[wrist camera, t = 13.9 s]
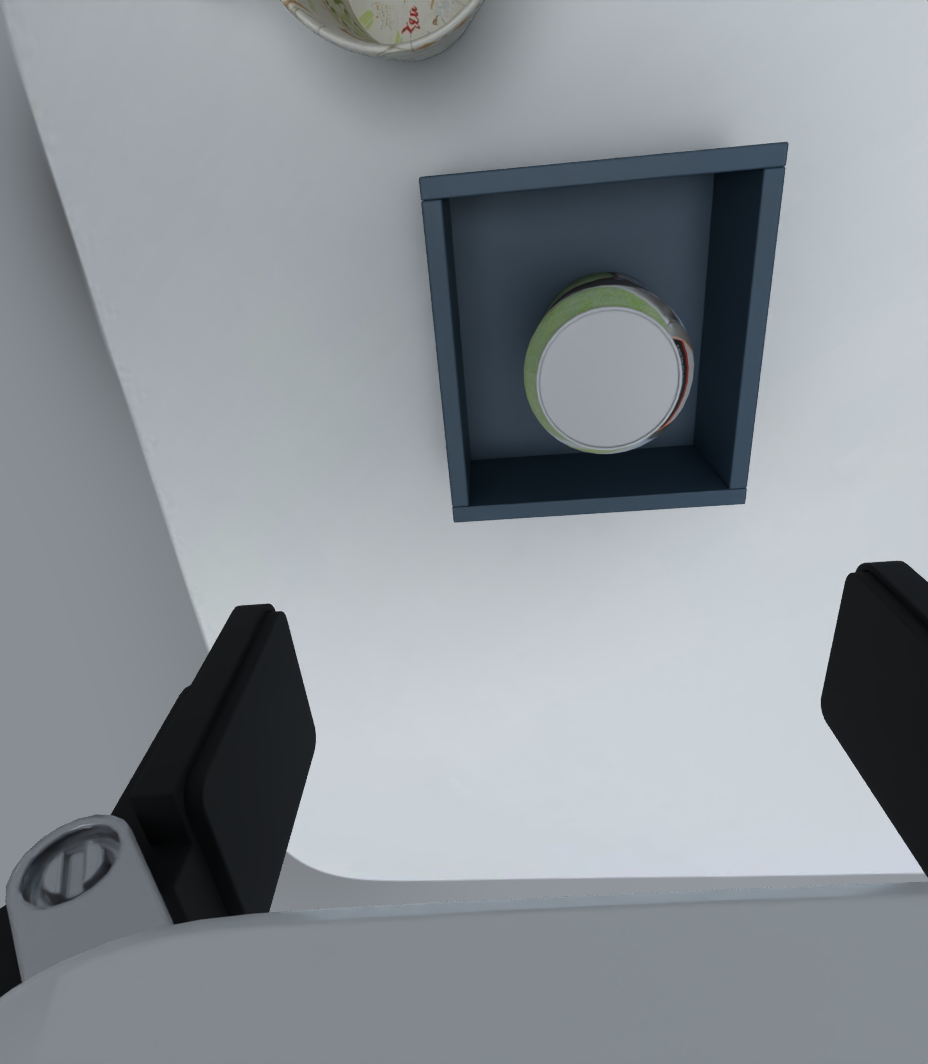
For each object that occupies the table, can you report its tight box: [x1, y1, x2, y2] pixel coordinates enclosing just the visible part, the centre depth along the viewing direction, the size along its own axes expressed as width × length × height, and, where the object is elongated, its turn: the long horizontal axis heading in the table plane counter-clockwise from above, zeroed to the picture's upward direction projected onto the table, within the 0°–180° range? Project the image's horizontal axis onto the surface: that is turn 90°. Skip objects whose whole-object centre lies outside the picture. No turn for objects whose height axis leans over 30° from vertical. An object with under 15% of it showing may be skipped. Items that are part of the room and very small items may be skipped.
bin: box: [419, 142, 788, 522], centre depth 31 cm, size 15×14×7 cm
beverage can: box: [524, 272, 694, 454], centre depth 28 cm, size 6×7×12 cm
